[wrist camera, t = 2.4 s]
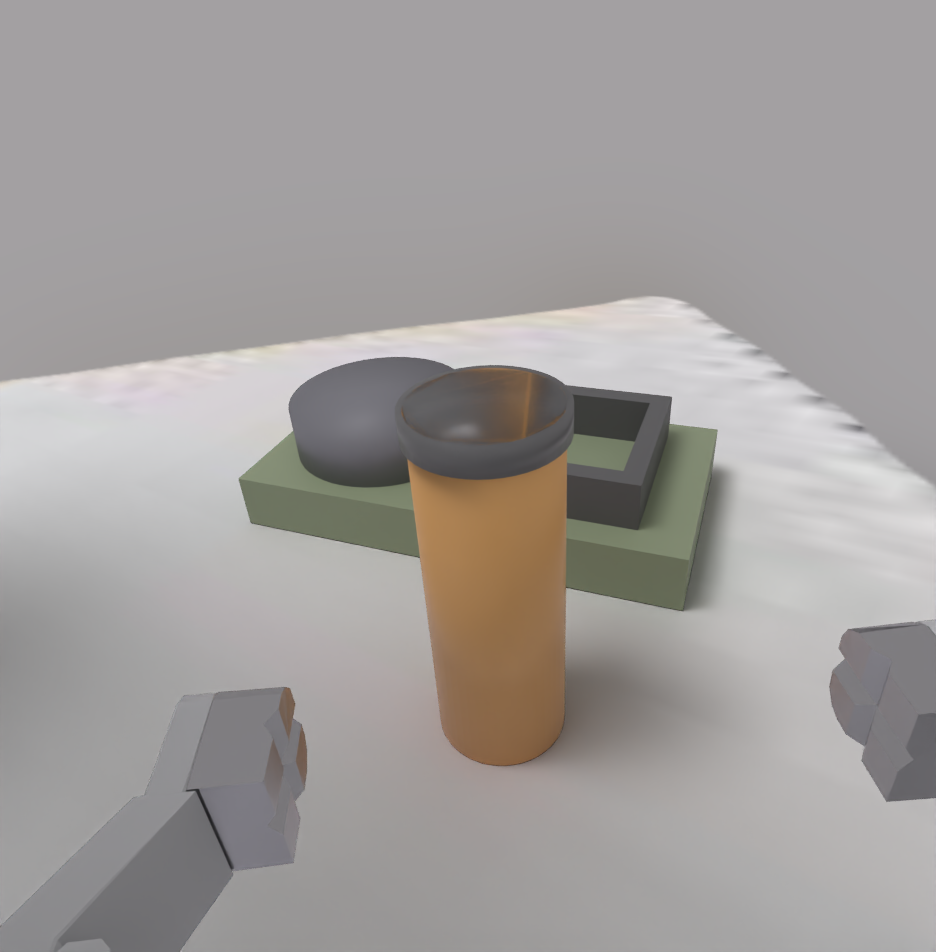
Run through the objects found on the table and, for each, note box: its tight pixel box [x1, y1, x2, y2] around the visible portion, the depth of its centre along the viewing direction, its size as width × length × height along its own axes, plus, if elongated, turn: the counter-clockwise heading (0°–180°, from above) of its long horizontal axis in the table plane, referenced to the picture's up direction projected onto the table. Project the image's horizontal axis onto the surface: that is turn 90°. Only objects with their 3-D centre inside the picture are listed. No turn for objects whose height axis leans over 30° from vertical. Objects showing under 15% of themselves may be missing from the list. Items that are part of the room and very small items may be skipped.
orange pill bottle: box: [395, 365, 574, 766], centre depth 26 cm, size 5×5×14 cm
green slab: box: [239, 357, 718, 611], centre depth 41 cm, size 24×12×6 cm, turn 69°
